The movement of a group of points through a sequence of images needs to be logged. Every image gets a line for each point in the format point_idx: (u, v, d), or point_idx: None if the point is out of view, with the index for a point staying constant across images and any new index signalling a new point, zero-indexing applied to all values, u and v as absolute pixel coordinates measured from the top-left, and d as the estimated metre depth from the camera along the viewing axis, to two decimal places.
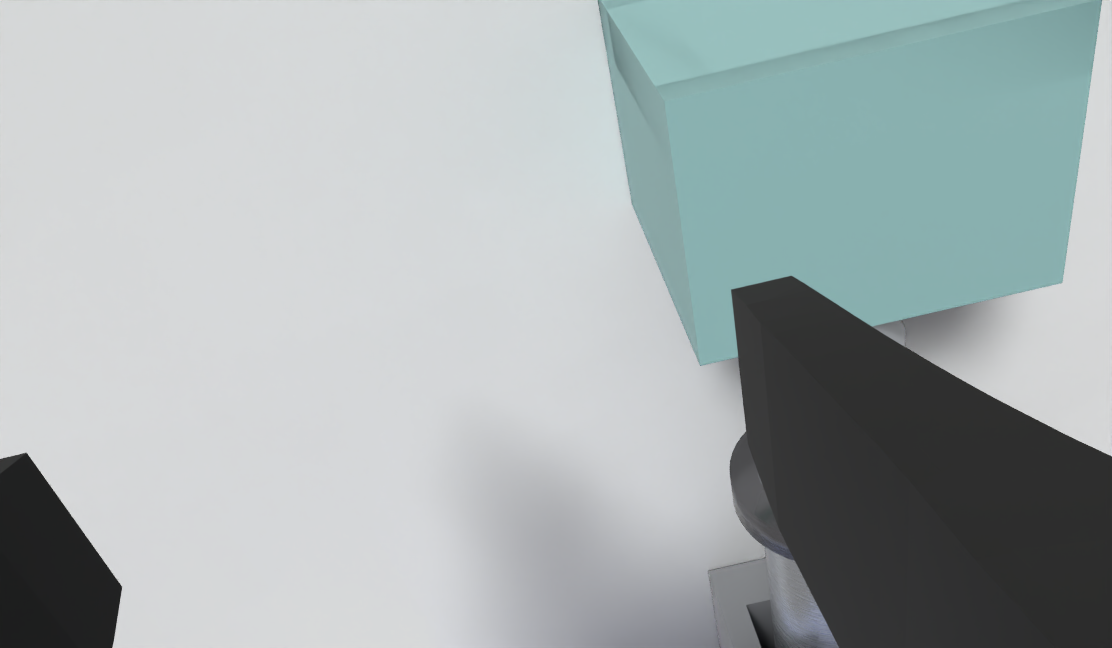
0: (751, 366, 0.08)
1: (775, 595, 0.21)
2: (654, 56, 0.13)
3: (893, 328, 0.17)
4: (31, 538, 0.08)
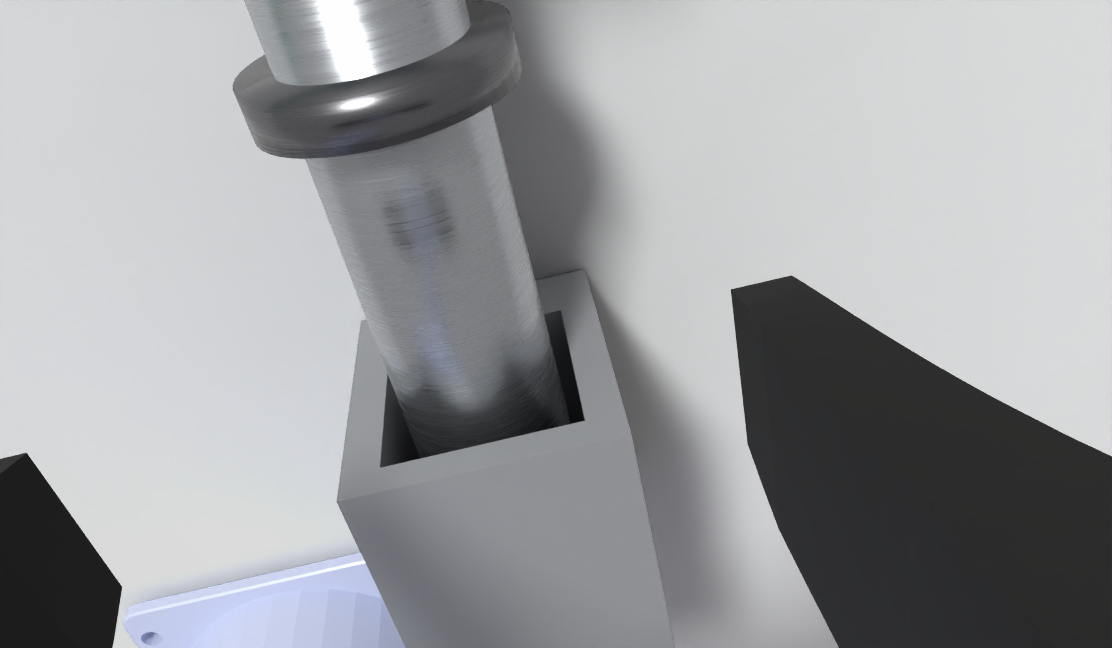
0: (751, 366, 0.08)
1: (351, 278, 0.15)
2: None
3: None
4: (31, 538, 0.08)
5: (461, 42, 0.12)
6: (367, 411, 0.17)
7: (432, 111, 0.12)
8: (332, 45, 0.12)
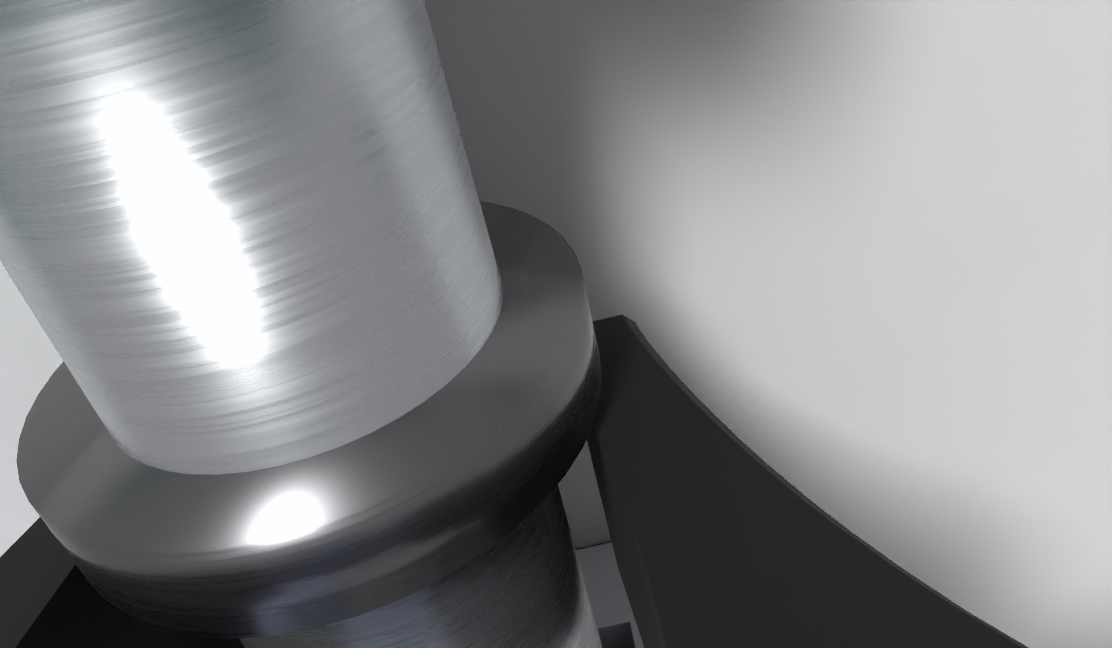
0: None
1: None
2: None
3: None
4: None
5: (487, 363, 0.06)
6: None
7: (423, 549, 0.05)
8: (200, 411, 0.05)
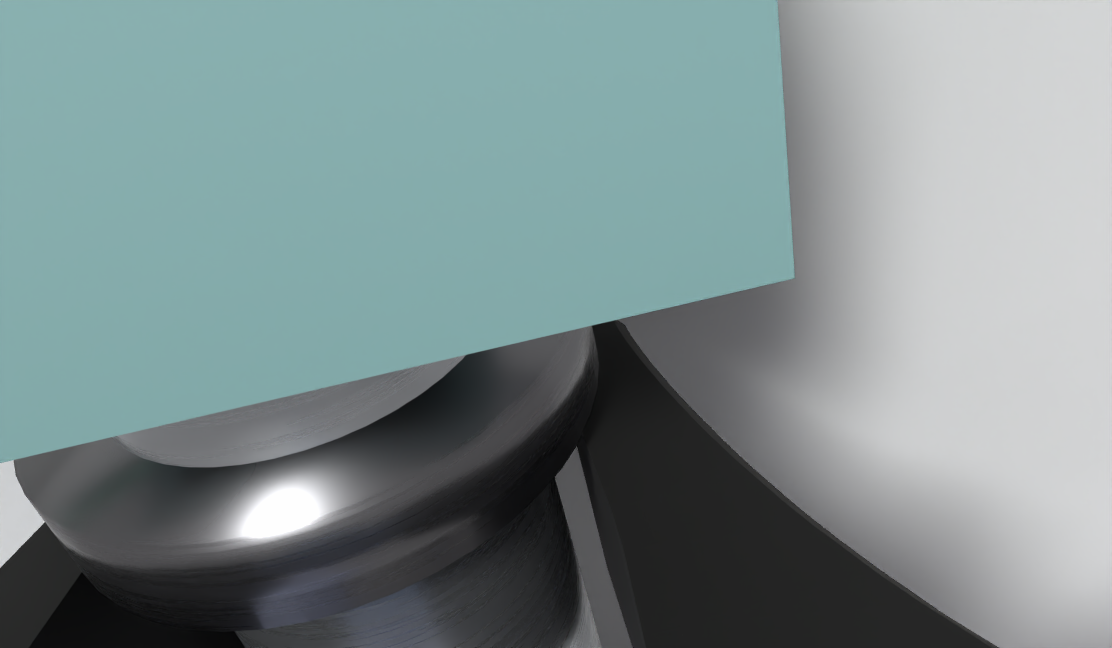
0: None
1: None
2: None
3: None
4: None
5: (484, 356, 0.06)
6: None
7: (420, 543, 0.05)
8: None
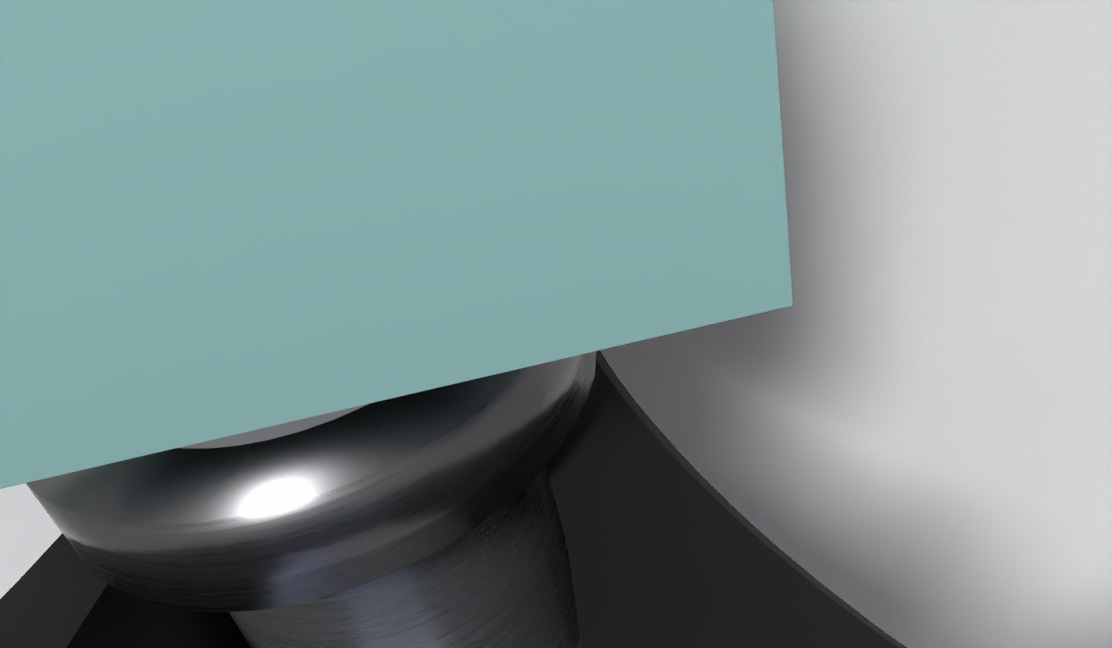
0: None
1: None
2: None
3: None
4: None
5: None
6: None
7: (415, 523, 0.05)
8: None
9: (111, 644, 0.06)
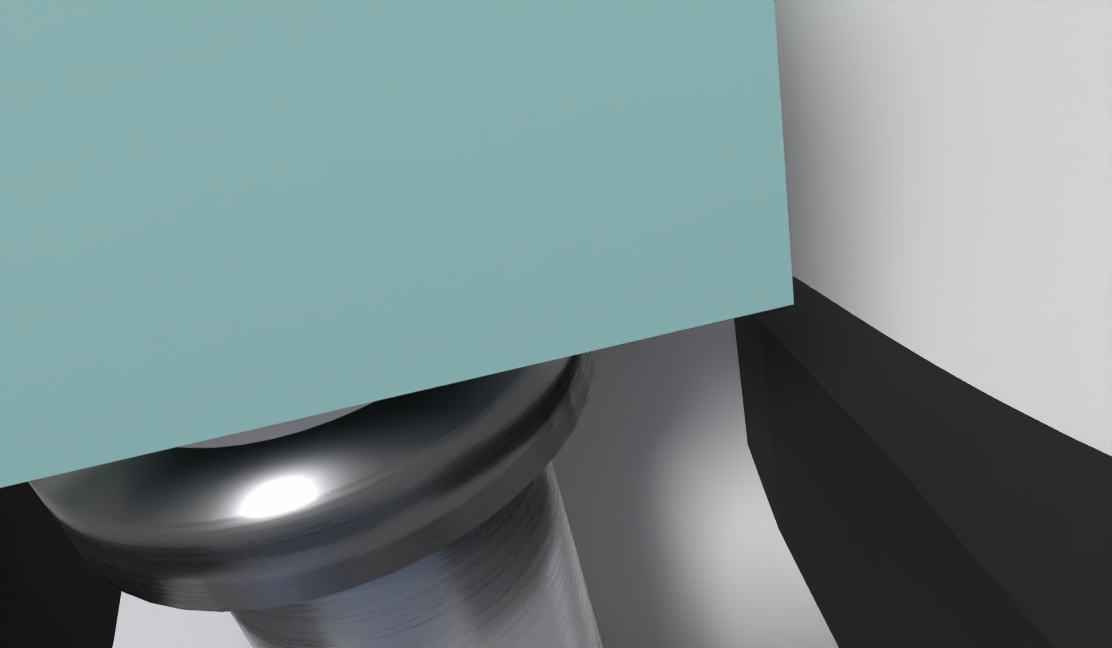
0: (751, 366, 0.08)
1: None
2: None
3: None
4: (31, 538, 0.08)
5: None
6: None
7: (417, 524, 0.05)
8: None
9: None
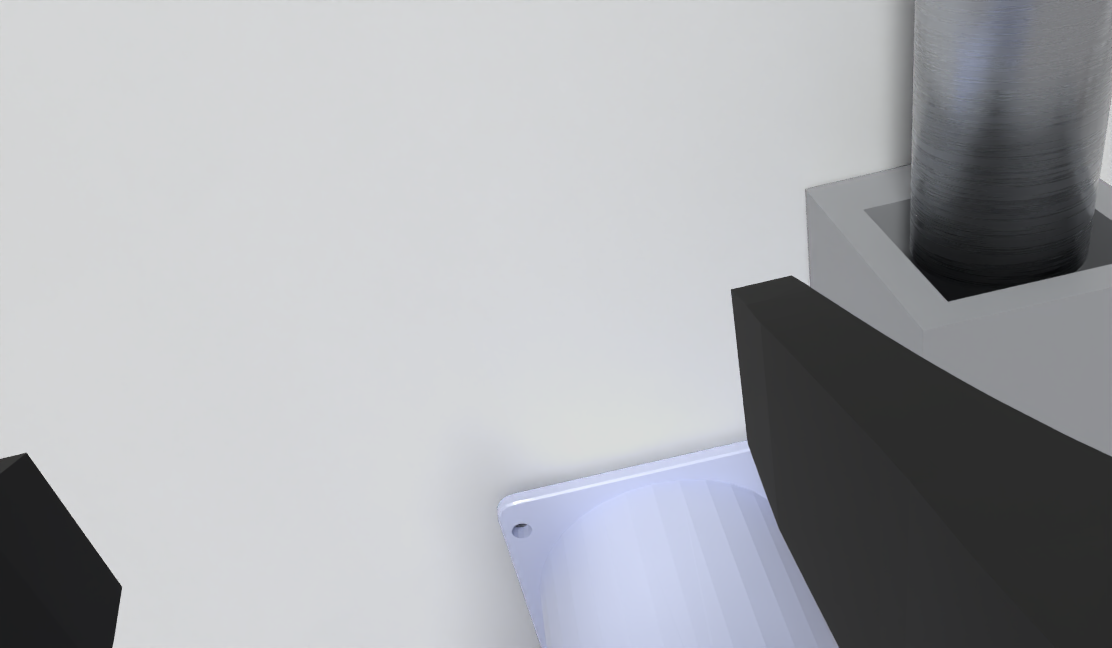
0: (751, 366, 0.08)
1: None
2: None
3: None
4: (31, 538, 0.08)
5: None
6: (886, 258, 0.17)
7: None
8: None
9: None
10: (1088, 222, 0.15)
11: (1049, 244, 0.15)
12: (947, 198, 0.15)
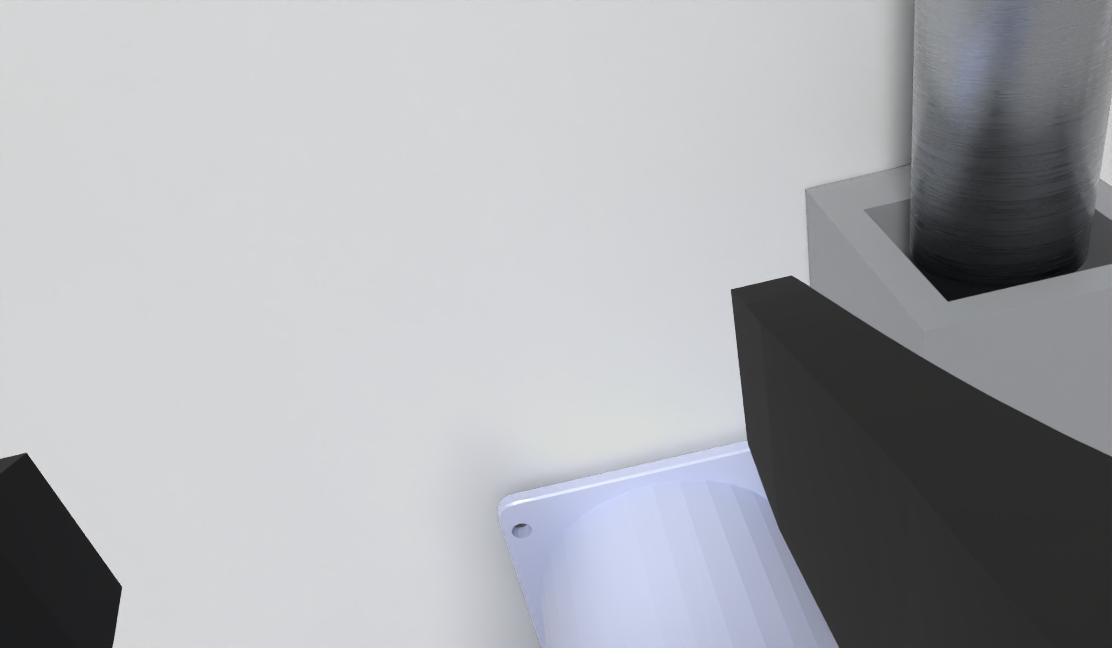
0: (751, 366, 0.08)
1: None
2: None
3: None
4: (31, 538, 0.08)
5: None
6: (886, 258, 0.17)
7: None
8: None
9: None
10: (1088, 222, 0.15)
11: (1049, 244, 0.15)
12: (947, 198, 0.15)
